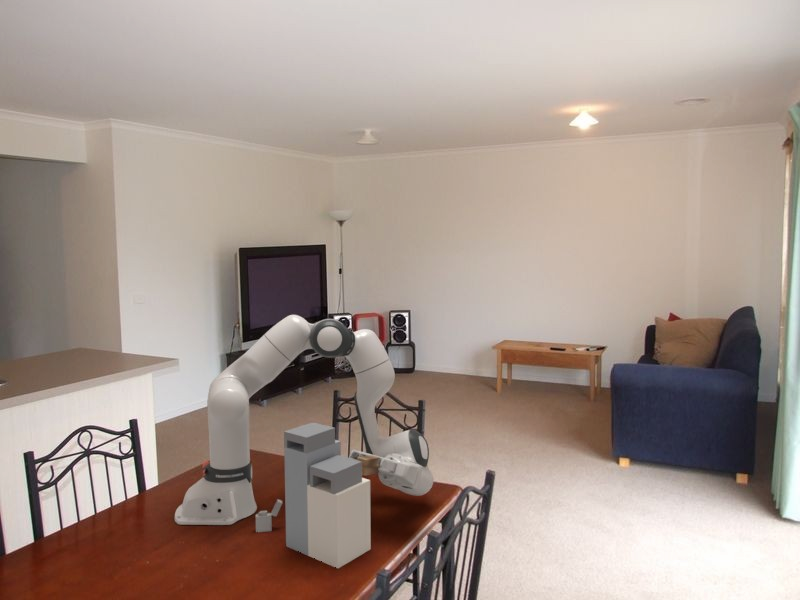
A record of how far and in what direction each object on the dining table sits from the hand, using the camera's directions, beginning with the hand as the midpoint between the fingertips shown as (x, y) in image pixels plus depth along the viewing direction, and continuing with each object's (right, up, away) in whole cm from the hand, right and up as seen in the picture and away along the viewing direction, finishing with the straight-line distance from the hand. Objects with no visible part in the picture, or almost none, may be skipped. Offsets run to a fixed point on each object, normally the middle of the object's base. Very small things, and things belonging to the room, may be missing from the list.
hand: (366, 458), depth 166 cm
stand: (-9, -22, -4) cm, 24 cm away
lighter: (-26, -21, +7) cm, 34 cm away
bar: (-3, -4, -3) cm, 6 cm away
